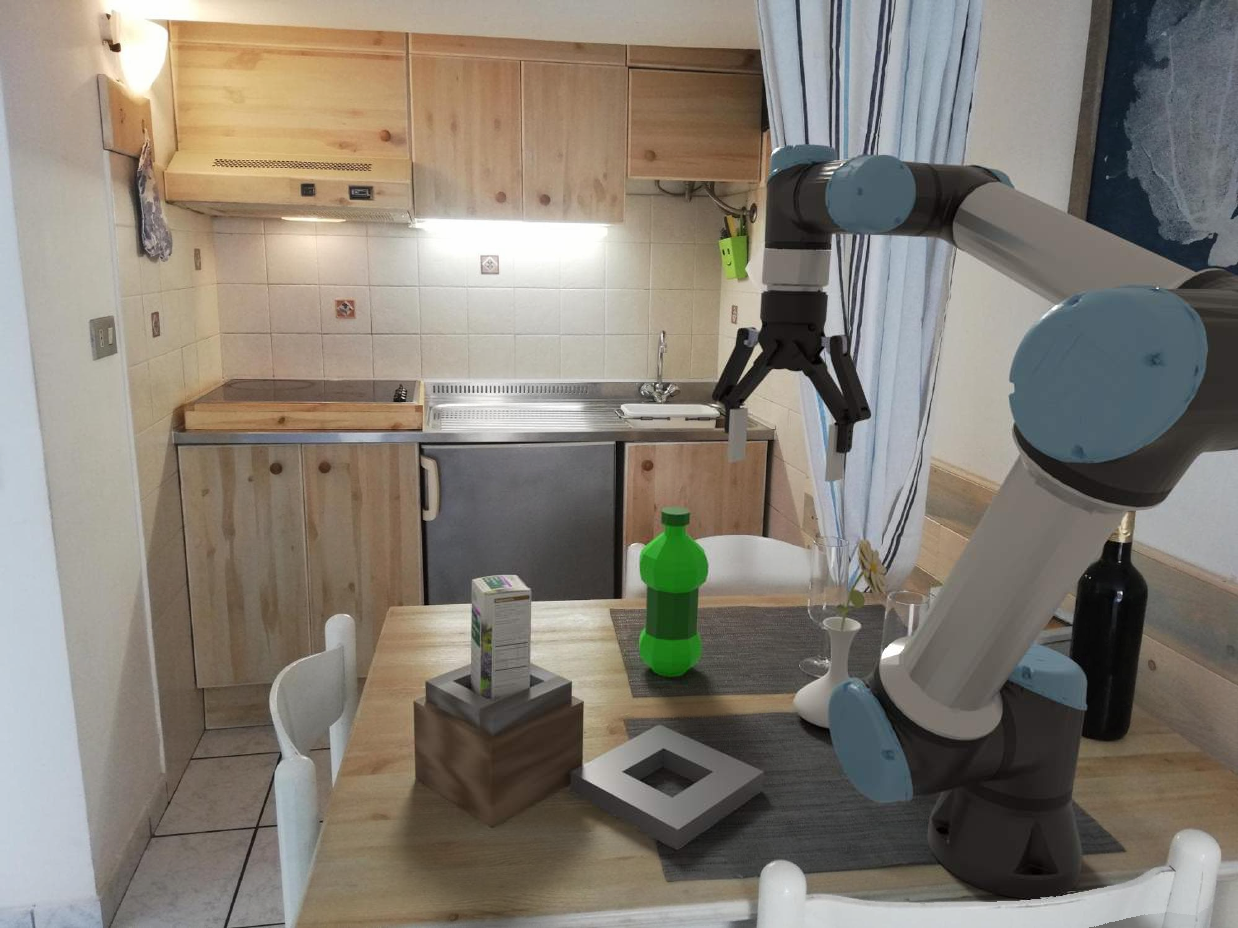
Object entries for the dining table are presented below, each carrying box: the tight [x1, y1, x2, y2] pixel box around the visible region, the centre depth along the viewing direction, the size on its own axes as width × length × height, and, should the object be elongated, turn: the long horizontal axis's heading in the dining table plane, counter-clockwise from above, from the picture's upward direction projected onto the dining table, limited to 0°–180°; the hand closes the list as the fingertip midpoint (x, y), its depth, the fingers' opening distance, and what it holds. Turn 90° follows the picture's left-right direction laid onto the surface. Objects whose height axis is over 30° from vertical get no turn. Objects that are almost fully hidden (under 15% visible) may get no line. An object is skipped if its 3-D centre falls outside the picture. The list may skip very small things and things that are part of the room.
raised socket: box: [413, 662, 585, 828], centre depth 110 cm, size 14×14×12 cm
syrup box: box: [470, 574, 532, 702], centre depth 108 cm, size 6×6×14 cm
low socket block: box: [569, 724, 765, 850], centre depth 109 cm, size 16×16×2 cm
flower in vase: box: [792, 539, 890, 729], centre depth 126 cm, size 13×11×25 cm
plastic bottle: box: [638, 506, 709, 678], centre depth 139 cm, size 10×10×25 cm
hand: (783, 470), depth 111 cm, fingers open, 13 cm apart
